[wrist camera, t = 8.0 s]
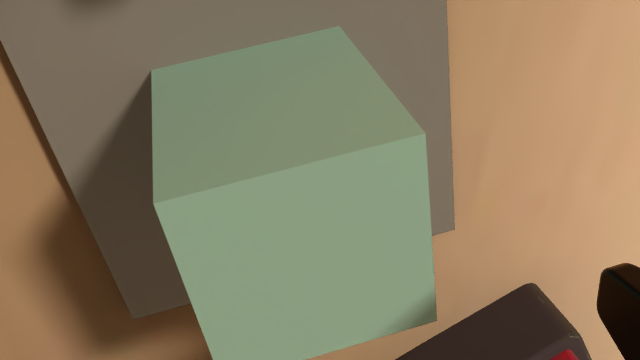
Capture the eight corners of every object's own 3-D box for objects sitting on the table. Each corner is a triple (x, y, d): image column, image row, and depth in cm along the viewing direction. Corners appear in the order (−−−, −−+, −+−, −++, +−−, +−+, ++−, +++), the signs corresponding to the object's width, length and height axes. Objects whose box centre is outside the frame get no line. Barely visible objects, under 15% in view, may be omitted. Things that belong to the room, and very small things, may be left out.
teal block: (338, 26, 15) (425, 133, 10) (360, 180, 17) (436, 320, 13) (151, 70, 14) (152, 203, 10) (201, 222, 17) (222, 383, 12)
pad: (435, -127, 14) (442, -124, 13) (449, 221, 19) (454, 229, 19) (-26, -29, 12) (-30, -23, 12) (133, 310, 18) (133, 320, 18)
